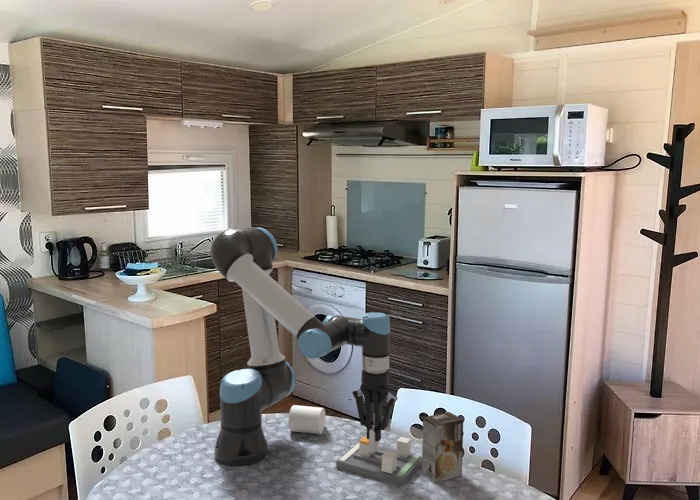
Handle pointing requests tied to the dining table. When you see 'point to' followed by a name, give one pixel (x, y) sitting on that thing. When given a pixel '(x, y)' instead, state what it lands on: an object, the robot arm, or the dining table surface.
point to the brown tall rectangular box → (442, 446)
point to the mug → (306, 419)
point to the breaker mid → (364, 447)
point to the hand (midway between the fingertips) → (373, 450)
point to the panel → (379, 465)
